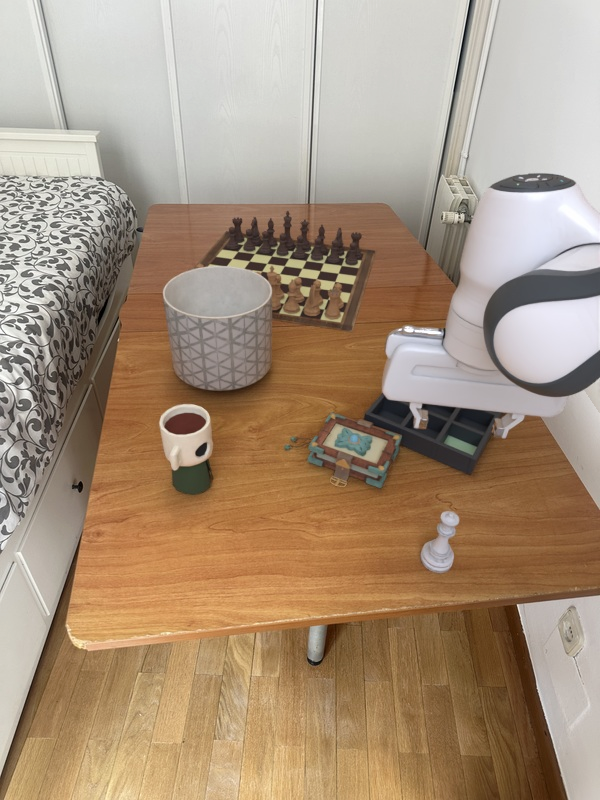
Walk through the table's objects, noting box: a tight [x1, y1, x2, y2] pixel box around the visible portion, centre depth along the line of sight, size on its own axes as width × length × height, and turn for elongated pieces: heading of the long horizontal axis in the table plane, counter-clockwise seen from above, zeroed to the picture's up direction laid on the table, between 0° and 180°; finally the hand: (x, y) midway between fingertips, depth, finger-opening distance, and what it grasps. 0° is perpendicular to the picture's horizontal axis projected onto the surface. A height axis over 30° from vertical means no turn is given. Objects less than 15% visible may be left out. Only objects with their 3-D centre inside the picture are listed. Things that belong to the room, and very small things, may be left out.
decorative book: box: [284, 412, 402, 489], centre depth 88 cm, size 13×18×5 cm
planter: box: [162, 266, 273, 392], centre depth 100 cm, size 19×19×18 cm
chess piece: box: [419, 510, 460, 574], centre depth 71 cm, size 4×4×10 cm
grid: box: [363, 392, 505, 476], centre depth 96 cm, size 20×20×4 cm
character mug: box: [158, 403, 214, 496], centre depth 80 cm, size 11×7×13 cm, turn 168°
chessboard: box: [162, 210, 377, 333], centre depth 136 cm, size 45×45×10 cm
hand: (458, 430), depth 66 cm, fingers open, 8 cm apart
